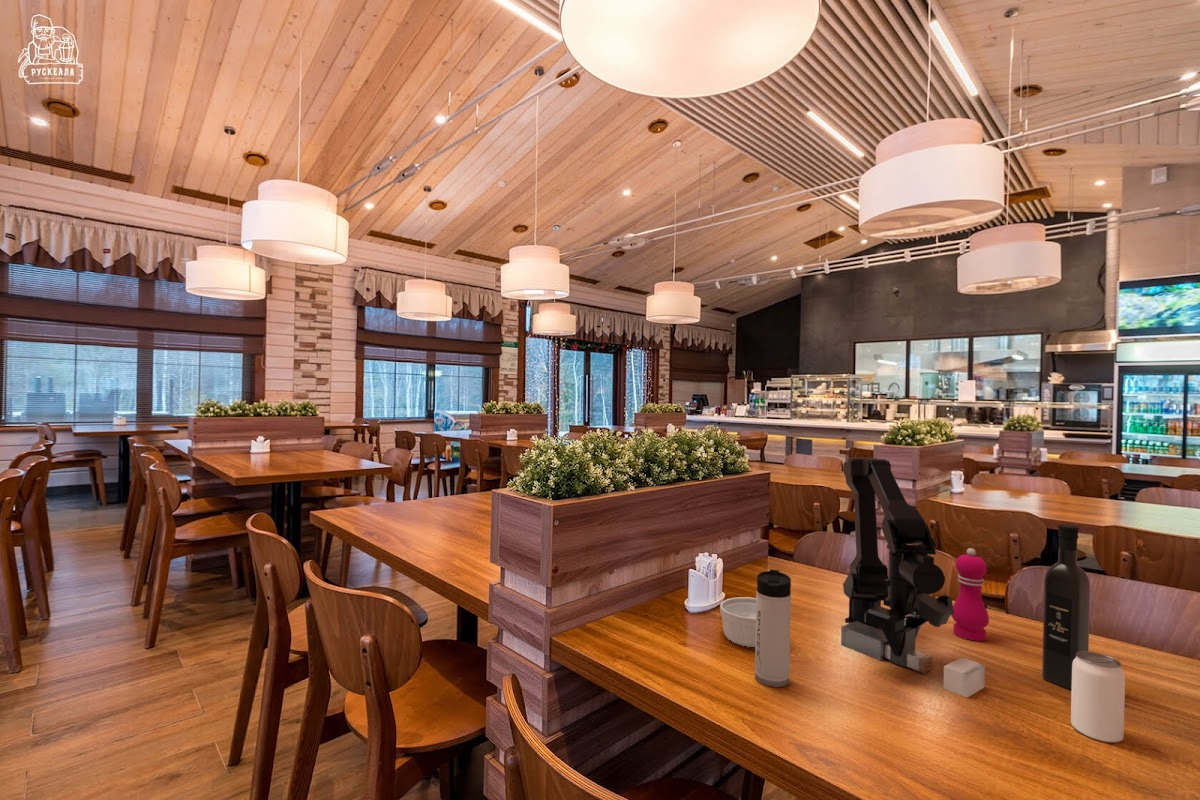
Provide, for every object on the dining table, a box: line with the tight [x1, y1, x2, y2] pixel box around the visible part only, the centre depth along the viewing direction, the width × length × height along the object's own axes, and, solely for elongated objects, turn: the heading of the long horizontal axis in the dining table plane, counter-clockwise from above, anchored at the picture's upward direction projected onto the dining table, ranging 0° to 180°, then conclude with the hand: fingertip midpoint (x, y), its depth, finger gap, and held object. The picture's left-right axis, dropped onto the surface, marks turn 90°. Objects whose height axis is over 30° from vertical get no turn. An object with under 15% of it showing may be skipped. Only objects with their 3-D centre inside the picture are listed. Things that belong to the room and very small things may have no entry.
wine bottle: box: [1041, 524, 1091, 691], centre depth 109 cm, size 6×6×30 cm
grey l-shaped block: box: [883, 625, 933, 674], centre depth 118 cm, size 16×4×7 cm, turn 34°
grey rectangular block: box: [943, 656, 986, 699], centre depth 106 cm, size 4×7×4 cm, turn 124°
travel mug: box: [754, 569, 792, 688], centre depth 108 cm, size 6×7×20 cm
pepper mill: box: [950, 547, 990, 642], centre depth 130 cm, size 7×7×20 cm
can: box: [1070, 650, 1126, 744], centre depth 93 cm, size 6×6×12 cm
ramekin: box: [719, 596, 756, 648], centre depth 127 cm, size 13×13×7 cm
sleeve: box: [840, 621, 888, 662], centre depth 122 cm, size 9×6×4 cm, turn 34°
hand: (902, 653), depth 116 cm, fingers closed on grey l-shaped block, 4 cm apart
